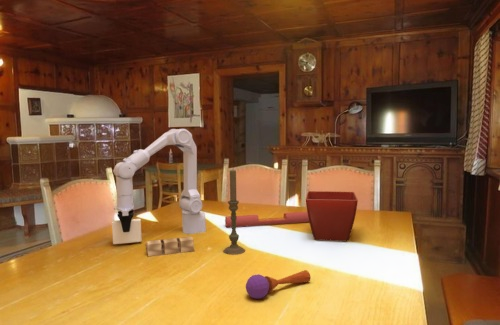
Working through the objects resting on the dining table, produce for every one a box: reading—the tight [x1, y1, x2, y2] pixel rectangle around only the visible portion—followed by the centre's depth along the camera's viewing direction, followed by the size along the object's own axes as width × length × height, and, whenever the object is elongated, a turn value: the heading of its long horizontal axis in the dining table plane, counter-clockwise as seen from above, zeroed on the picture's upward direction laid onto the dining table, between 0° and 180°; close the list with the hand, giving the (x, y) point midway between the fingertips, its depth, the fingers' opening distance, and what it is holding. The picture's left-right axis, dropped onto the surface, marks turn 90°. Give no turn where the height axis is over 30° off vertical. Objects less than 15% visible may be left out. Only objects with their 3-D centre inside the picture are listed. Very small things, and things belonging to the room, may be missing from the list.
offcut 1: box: [146, 239, 163, 257], centre depth 125 cm, size 4×4×4 cm
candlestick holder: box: [222, 169, 246, 256], centre depth 125 cm, size 9×9×30 cm
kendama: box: [245, 269, 311, 300], centre depth 98 cm, size 6×6×20 cm
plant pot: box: [305, 190, 359, 242], centre depth 145 cm, size 19×19×17 cm
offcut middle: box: [163, 237, 179, 255], centre depth 127 cm, size 4×4×4 cm
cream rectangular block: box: [111, 218, 143, 245], centre depth 135 cm, size 10×3×8 cm, turn 109°
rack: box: [145, 236, 195, 258], centre depth 131 cm, size 16×14×2 cm
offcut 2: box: [178, 236, 195, 253], centre depth 128 cm, size 4×4×4 cm
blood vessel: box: [224, 211, 310, 229], centre depth 166 cm, size 42×5×5 cm, turn 101°
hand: (126, 230), depth 135 cm, fingers closed on cream rectangular block, 3 cm apart
